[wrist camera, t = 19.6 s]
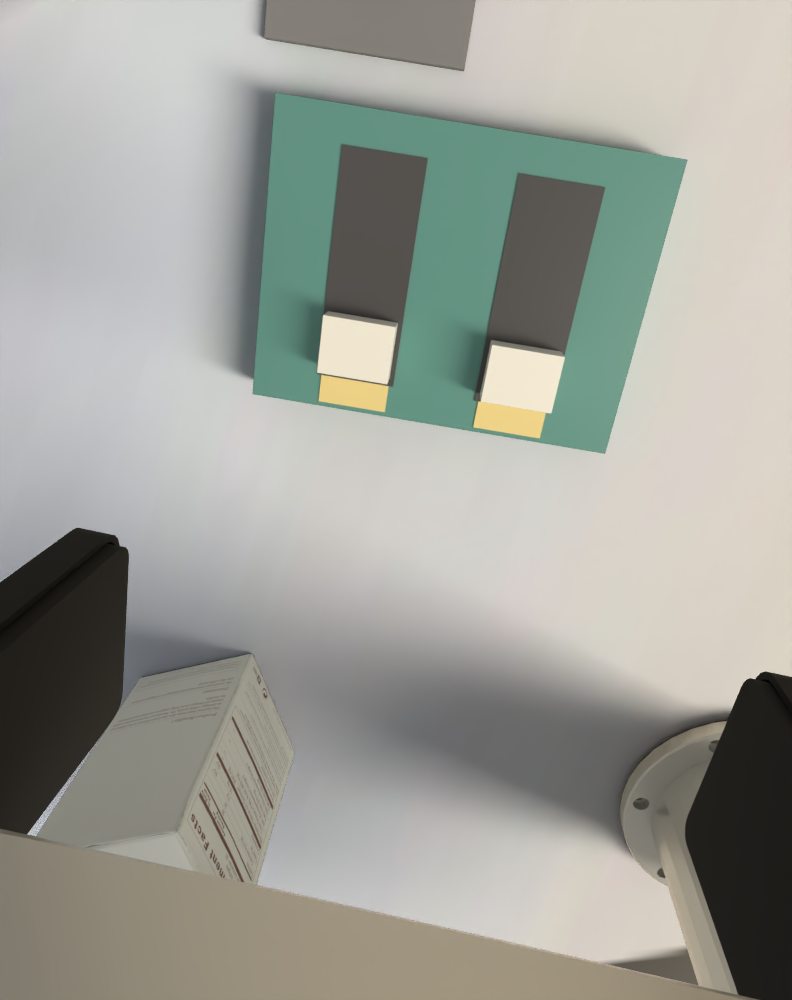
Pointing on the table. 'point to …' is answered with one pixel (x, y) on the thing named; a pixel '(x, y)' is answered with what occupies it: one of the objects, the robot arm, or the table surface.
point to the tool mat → (377, 28)
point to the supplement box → (184, 774)
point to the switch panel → (457, 263)
